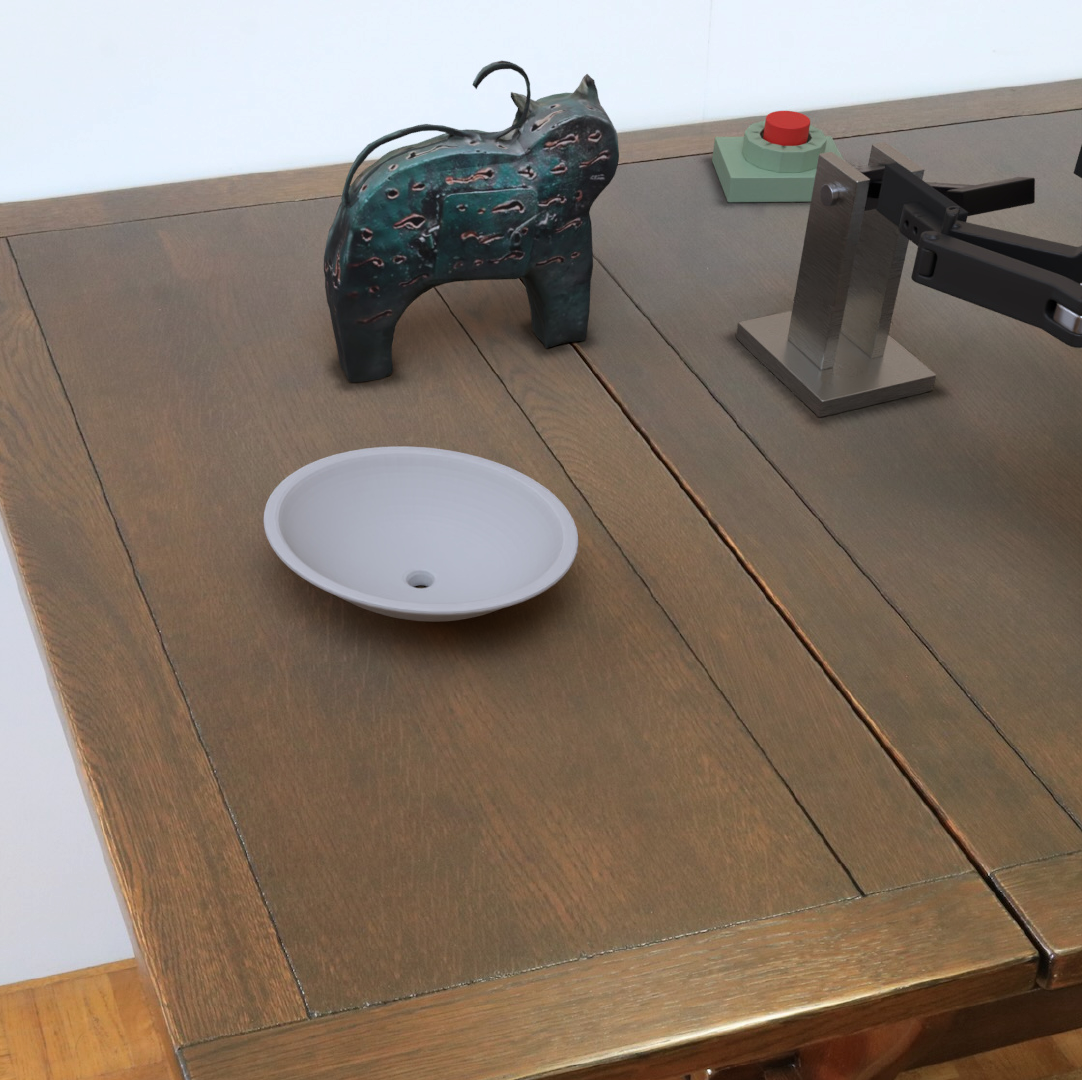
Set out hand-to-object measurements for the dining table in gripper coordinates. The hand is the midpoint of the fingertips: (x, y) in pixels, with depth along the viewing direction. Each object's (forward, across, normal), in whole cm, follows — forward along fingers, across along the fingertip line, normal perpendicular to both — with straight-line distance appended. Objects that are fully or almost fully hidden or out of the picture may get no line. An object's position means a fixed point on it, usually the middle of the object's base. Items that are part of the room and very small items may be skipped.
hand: (987, 167), depth 86 cm
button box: (+37, +11, -19) cm, 43 cm away
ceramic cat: (+20, -23, -19) cm, 36 cm away
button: (+37, +11, -15) cm, 41 cm away
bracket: (+10, 0, -19) cm, 21 cm away
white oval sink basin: (-3, -36, -19) cm, 40 cm away
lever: (+4, 0, -5) cm, 6 cm away
